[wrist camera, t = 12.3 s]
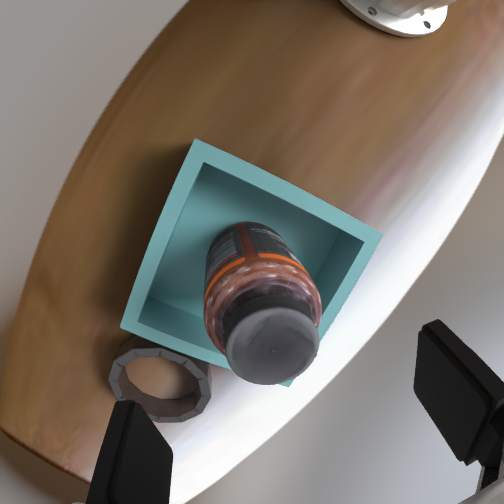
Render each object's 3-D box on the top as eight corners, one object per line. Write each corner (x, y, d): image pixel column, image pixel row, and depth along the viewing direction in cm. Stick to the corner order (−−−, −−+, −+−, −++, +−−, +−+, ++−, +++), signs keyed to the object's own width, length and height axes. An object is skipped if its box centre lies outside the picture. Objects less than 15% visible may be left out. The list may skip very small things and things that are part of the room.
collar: (130, 316, 25) (122, 332, 22) (225, 353, 27) (226, 371, 24) (108, 384, 27) (102, 401, 25) (191, 414, 29) (190, 432, 26)
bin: (200, 141, 21) (194, 138, 17) (353, 218, 24) (383, 234, 19) (136, 295, 24) (119, 327, 20) (278, 350, 27) (288, 386, 22)
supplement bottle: (198, 287, 24) (187, 391, 13) (217, 210, 22) (215, 269, 11) (274, 303, 25) (312, 406, 14) (298, 230, 23) (362, 299, 12)
